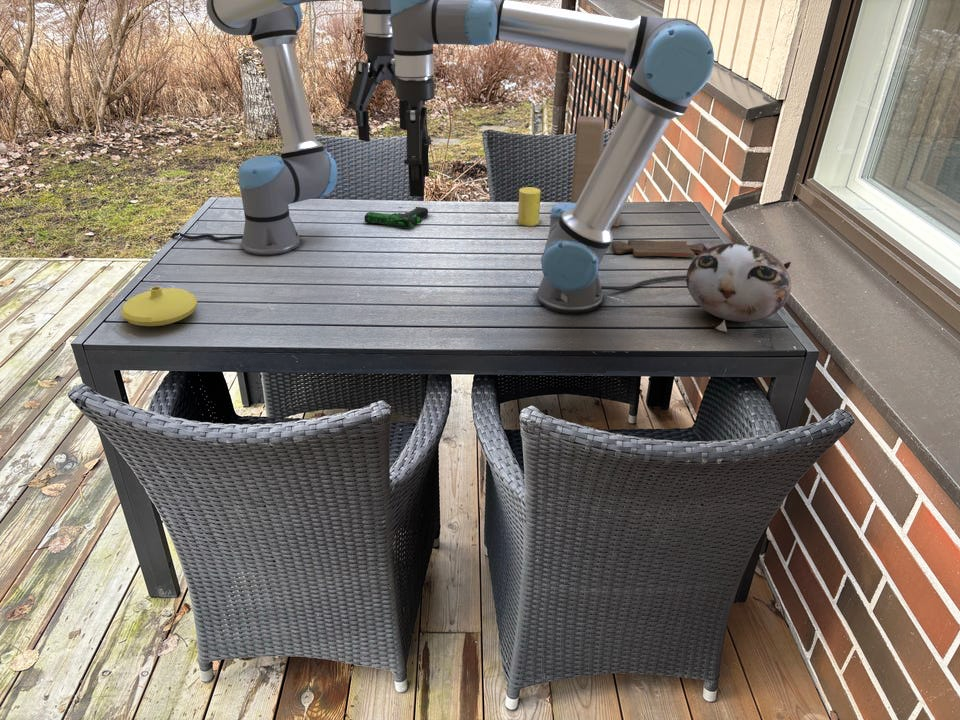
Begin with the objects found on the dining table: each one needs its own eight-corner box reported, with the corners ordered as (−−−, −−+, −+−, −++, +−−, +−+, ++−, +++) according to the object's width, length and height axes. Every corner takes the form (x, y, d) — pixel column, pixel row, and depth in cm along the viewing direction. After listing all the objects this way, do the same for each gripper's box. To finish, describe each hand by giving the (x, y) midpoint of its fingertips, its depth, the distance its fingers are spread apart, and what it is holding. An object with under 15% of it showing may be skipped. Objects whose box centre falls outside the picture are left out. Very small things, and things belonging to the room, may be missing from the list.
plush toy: (664, 307, 155) (693, 222, 157) (679, 329, 171) (705, 252, 172) (770, 332, 145) (800, 241, 146) (775, 353, 160) (802, 271, 162)
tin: (517, 225, 213) (519, 193, 208) (517, 218, 219) (519, 186, 214) (539, 226, 213) (541, 194, 208) (538, 218, 218) (540, 187, 213)
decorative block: (619, 227, 213) (632, 123, 197) (569, 224, 214) (577, 121, 199) (618, 218, 219) (630, 117, 204) (569, 215, 221) (577, 115, 205)
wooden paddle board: (710, 260, 193) (701, 246, 201) (711, 254, 192) (702, 240, 200) (615, 256, 193) (610, 243, 202) (615, 250, 192) (611, 237, 201)
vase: (172, 295, 169) (166, 268, 165) (214, 314, 161) (208, 285, 157) (109, 320, 158) (101, 291, 154) (150, 341, 150) (143, 311, 146)
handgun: (434, 207, 218) (411, 221, 205) (434, 217, 219) (411, 231, 207) (387, 201, 223) (362, 214, 211) (387, 210, 224) (363, 224, 212)
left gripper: (351, 42, 143) (358, 148, 154) (432, 31, 160) (432, 127, 171) (325, 38, 147) (333, 142, 158) (407, 27, 164) (409, 122, 175)
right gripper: (402, 67, 148) (408, 169, 159) (386, 89, 127) (394, 205, 138) (438, 67, 148) (441, 169, 159) (428, 89, 127) (433, 205, 138)
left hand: (385, 135), depth 165 cm, fingers open, 13 cm apart
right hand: (420, 186), depth 148 cm, fingers open, 13 cm apart
